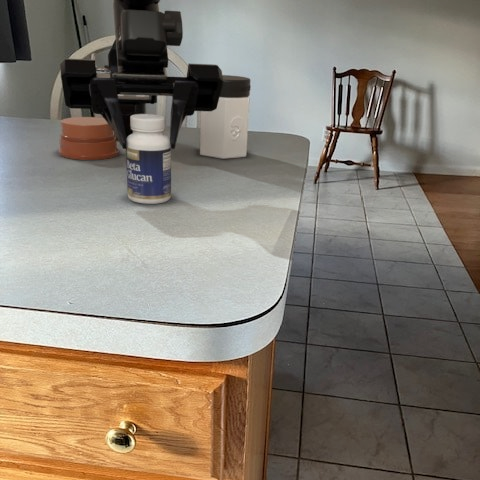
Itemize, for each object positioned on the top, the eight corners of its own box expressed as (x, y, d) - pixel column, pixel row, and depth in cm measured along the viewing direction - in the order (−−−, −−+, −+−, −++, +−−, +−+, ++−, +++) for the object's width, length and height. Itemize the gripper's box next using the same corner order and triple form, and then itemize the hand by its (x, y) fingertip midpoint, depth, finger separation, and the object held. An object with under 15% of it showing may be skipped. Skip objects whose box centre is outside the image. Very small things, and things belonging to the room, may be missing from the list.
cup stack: (71, 145, 92) (68, 114, 90) (125, 149, 92) (124, 118, 89) (49, 157, 84) (45, 123, 81) (109, 161, 83) (107, 128, 81)
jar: (212, 160, 88) (214, 80, 82) (188, 150, 93) (188, 74, 88) (257, 156, 92) (262, 79, 86) (231, 147, 98) (235, 74, 92)
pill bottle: (120, 202, 66) (115, 117, 61) (137, 190, 71) (134, 111, 66) (162, 207, 65) (161, 121, 60) (177, 195, 70) (176, 115, 65)
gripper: (51, -26, 58) (57, 99, 54) (223, -13, 62) (240, 104, 58) (63, 52, 68) (68, 161, 64) (208, 58, 72) (222, 161, 68)
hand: (149, 146), depth 63 cm, fingers closed on pill bottle, 5 cm apart
